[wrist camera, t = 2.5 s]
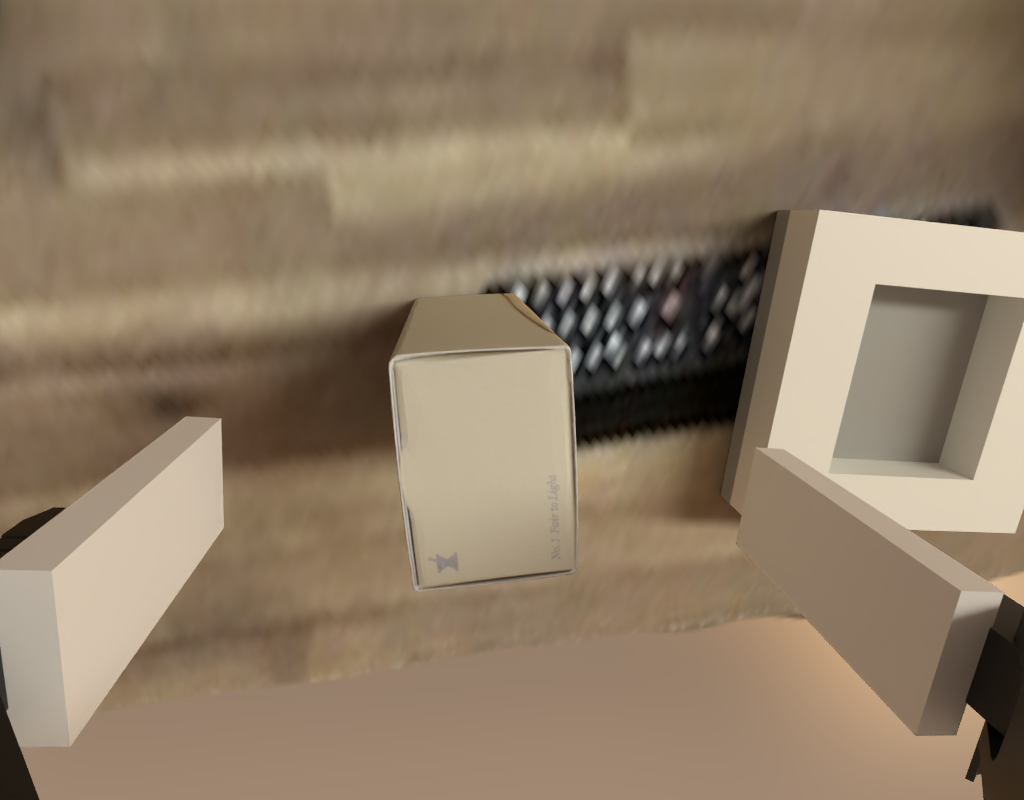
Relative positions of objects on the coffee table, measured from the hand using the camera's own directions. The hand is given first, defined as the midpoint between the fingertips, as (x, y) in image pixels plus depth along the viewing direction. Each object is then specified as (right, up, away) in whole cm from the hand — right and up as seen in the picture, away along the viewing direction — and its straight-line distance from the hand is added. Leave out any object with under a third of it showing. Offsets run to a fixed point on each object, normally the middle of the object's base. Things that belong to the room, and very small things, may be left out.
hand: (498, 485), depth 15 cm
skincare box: (-2, +4, +11) cm, 12 cm away
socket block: (+17, +3, +14) cm, 22 cm away
